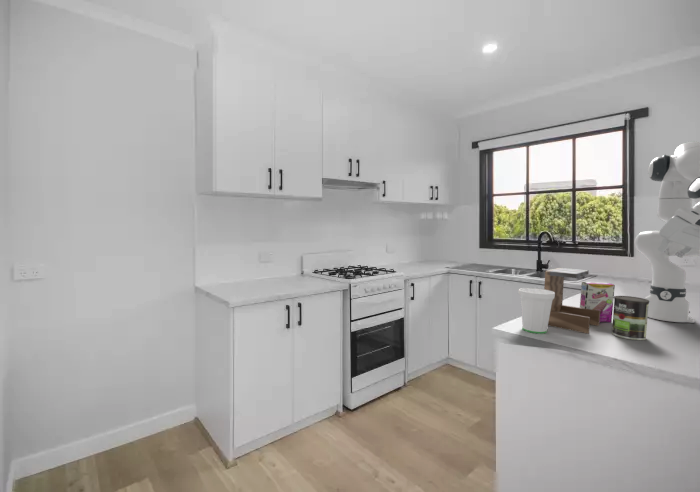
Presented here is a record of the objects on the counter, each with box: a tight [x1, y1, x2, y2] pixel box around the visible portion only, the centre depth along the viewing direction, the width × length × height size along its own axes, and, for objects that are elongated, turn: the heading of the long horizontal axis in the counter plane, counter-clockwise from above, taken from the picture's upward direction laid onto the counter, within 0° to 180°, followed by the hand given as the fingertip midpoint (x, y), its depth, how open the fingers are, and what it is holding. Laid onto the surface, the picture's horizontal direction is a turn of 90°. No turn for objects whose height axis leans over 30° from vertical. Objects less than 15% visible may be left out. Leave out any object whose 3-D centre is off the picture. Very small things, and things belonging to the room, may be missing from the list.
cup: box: [518, 287, 555, 334], centre depth 139 cm, size 12×12×15 cm
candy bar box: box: [579, 281, 615, 323], centre depth 155 cm, size 11×5×16 cm, turn 84°
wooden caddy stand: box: [543, 267, 600, 334], centre depth 147 cm, size 18×16×22 cm
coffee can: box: [611, 295, 649, 341], centre depth 134 cm, size 10×10×14 cm
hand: (669, 253), depth 123 cm, fingers open, 8 cm apart
